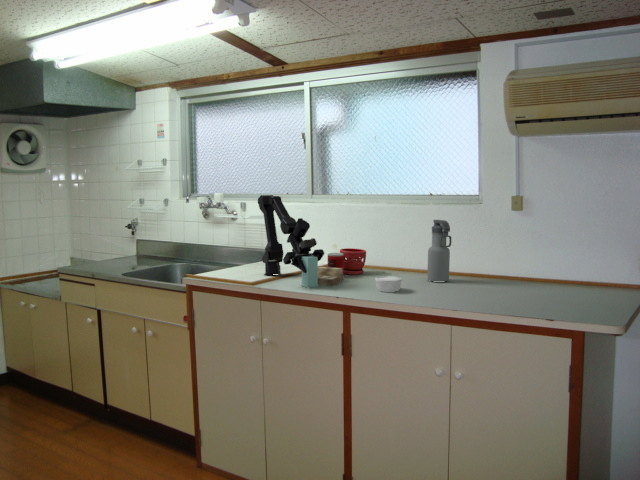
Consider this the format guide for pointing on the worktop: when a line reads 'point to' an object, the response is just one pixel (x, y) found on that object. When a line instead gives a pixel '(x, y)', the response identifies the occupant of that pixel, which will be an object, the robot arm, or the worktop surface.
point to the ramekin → (388, 283)
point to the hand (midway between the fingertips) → (311, 271)
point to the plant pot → (353, 260)
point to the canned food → (336, 261)
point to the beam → (329, 271)
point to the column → (310, 271)
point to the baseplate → (329, 279)
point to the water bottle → (439, 252)
